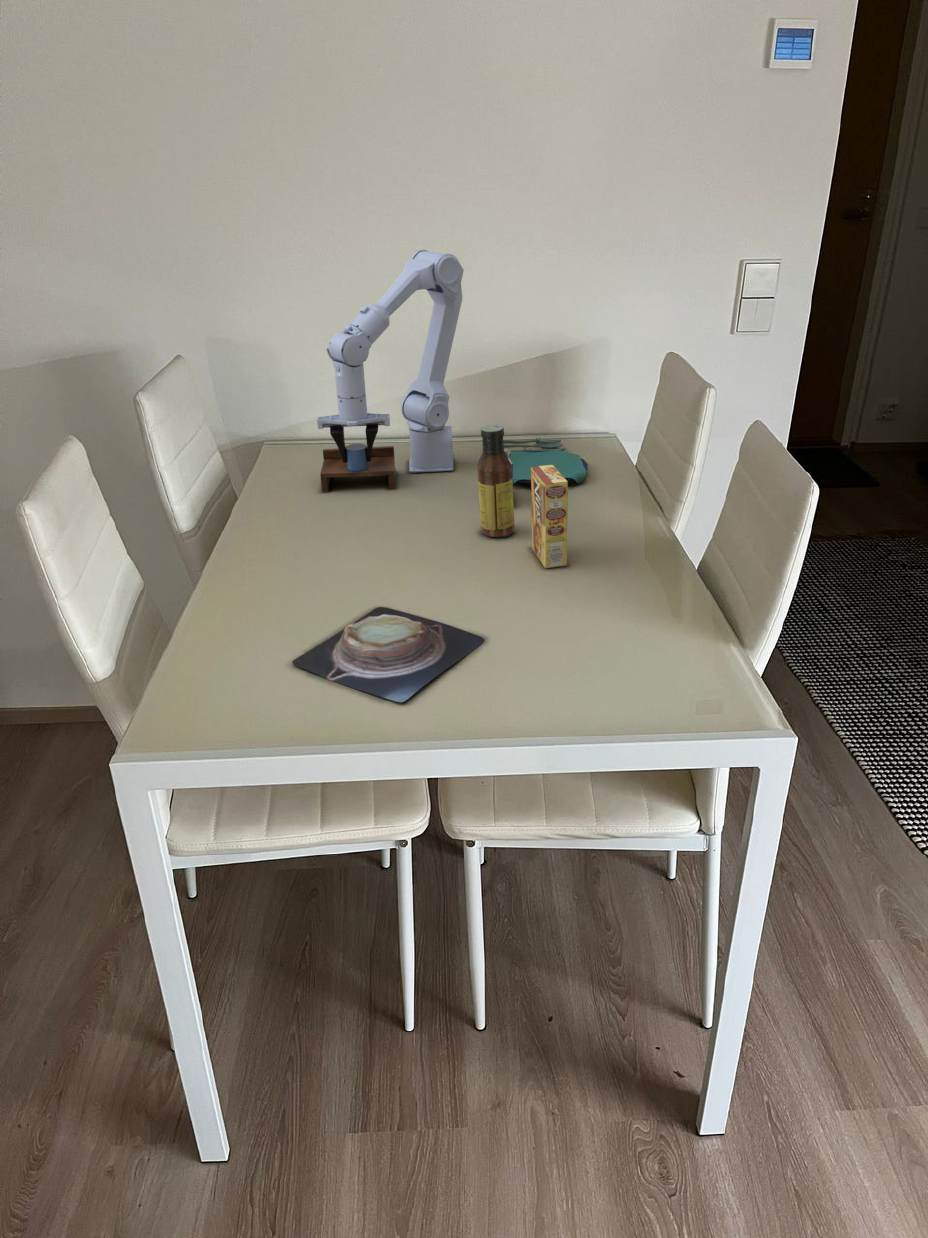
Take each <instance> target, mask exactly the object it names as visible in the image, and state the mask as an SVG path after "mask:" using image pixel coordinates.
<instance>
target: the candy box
mask: <svg viewBox="0 0 928 1238" xmlns="http://www.w3.org/2000/svg"><path fill="white" fill-rule="evenodd" d="M530 491H531V492H530V493H531V496H530V497H531V499H530V500H531V503H530V504H531V549H532V550H533V552H534V554H535V555H536V557H537V559H538V560H539V561H540V563H541V564H542V566H543V567H544V568H545V569H551V568H557V567H565V566H567V565H568V509H569V508H568V506H569V505H568V504H569V503H568V500H569V494H568V493H569V492H568V491H569V480H568V481H567V480H566V479H565V478H564V477H563V476H562V474H561V473H560V472H559V471H558V470H557V469H556V468H555V467H554V466H553V465H545V466H536V467H531V484H530Z"/></svg>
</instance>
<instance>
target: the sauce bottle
mask: <svg viewBox="0 0 928 1238" xmlns="http://www.w3.org/2000/svg"><path fill="white" fill-rule="evenodd" d="M480 436H481V440H482V453H481V456H480V458H479V459H478V461H477V465H476V466H477V488H478V489H477V490H478V502H479V503H478V504H479V518H480V519H479V521H480V526H481V527H480V529H481V532H482V534H483V535H485V536H486V537H491V538H504V537H508V536H510V535H512V534H513V533H514V530H515V503H514V484H513V482H512V474H511V463H510V461H509V459H508V457H507V455H506V454H505V452H504V444H503V440H504V436H505V429H504V426H503V425H500V424H487V425H484V426H482V427H481V428H480Z"/></svg>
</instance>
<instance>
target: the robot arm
mask: <svg viewBox="0 0 928 1238" xmlns="http://www.w3.org/2000/svg"><path fill="white" fill-rule="evenodd" d="M464 270H465V269H464V267H463V266H462V264H461V263H460V261H459V258H458V257H456V255H454V254H453V253H447V252H446V253H443V252H435V251H429V250H426V249H420V250H417V251H416V252H414V254H412V256H411V258H409V259H407V260H406V261H405V264H404V268H403V270H402V272H401V273H400V274H399V276H397V278H396V279H395V281H394V282H393V283H392V284H391V285H390V286H389V288H388V289H387V290H386V291H385V292H384V294H383V295H382V297H381V298H380V299H379V300H378V301H377V303H368V304H367V305H362V307H360V308H359V313H358V314H357V316H356V317H354V319H353V320H352V321H351V322H350V323H349V324H346V325H345V326H344V328H343V329H344V330H343V331H340V332H337V333H335V334H334V335H332V336H331V338H330V341H329V343H328V347H327V348H326V353H327V356H328V357H329V359H330V360H331V361H332V365H333V369H334V375H335V376H334V377H335V387H336V388H335V389H336V399H337V409H338V414H333V415H326V416H317V418H316V425H317V429H318V430H323V429H325V428H326V429H327V428H329V434H330V436H331V438H332V440H333V441H334V442H335V444H336V447H337V448H339V451H340V453H341V456H342V460H343V463H346V462H347V461H346V450H345V447H346V443H345V442H346V441H345V428H349V427H350V428H351V427H365V440H366V446H367V461H368V462H370V461H371V452H372V447H374V443H375V440H376V437H377V435H378V432H379V426H383V427H390V426H391V419H390V418H391V417H390V416H391V415H390V413H372V412H371V413H370V412H368V405H367V404H368V403H367V392H366V383H365V382H366V379H365V367H364V363H365V362H366V361H367V359H368V357H369V353H370V350H371V348H372V345H373V344H374V343H375V342H376V341H377V340H378V339H379V338H380V337H381V335H383V333H385V331H386V330H387V329H388V327H389V326H390V322H391V321H390V317H391V316H392V315H393V314H394V313H395V311H397V310H398V309H399V308H400V307H401V306H402V305H403V304H404V303H405V302H406V301H407V300H408V299H409V298H411V296H412V295H414V293H416V292H417V291H422V290H426V292H427V293H428V295H429V296H430V298H431V300H432V301H433V305H432V306H433V307H432V312H431V316H430V321H429V326H428V331H427V334H426V338H425V344H424V348H423V353H422V358H421V362H420V367H419V371H418V376H417V378H416V379H415V380H414V381H413V382H411V383H410V384H409V385H408V389H407V393H406V395H405V396H404V397H403V399H402V401H401V406H400V408H401V409H400V411H401V415H402V416H403V418H404V419H405V420H406V421H407V426H408V435H409V436H408V438H409V451H410V458H409V459H408V462H409V463H408V466H409V467H408V470H409V471H408V472H409V473H411V474H412V473H413V474H414V473H431V472H432V473H433V472H453V471H454V460H455V451H454V448H453V429H452V426H451V425H446V424H447V422H448V419H449V416H450V409H449V400H450V394H449V392H448V391H447V389H446V387H445V385H444V383H445V379H446V373H447V369H448V365H449V361H450V356H451V353H452V352H451V351H452V347H453V342H454V338H455V335H456V334H455V333H456V329H457V325H458V320H459V316H460V312H461V307H462V303H463V290H462V280H463V276H464Z"/></svg>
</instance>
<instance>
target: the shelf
mask: <svg viewBox="0 0 928 1238" xmlns="http://www.w3.org/2000/svg"><path fill="white" fill-rule="evenodd" d="M322 457H323V461H322V464H321V470H320V474H319V475H320V484H321V492H322V493H328V492H329V489H330V485H331V479H332V478H342V477H343V478H345V477H346V478H347V477H363V476H364V477H365V476H366V477H367V476H387V479H388V489H389V490H396V473H397V472H396V460H395V459H396V458H395V446H394V445H389V446H388V445H386V446H385V445H384V446H373V447H372V452H371V461H370V462H368V469H366V470H363V471H350V470H348V469H347V462H346V463H343V460H342V456H341V453H340V451H339V448H338V447H337V448H323V449H322Z"/></svg>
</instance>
